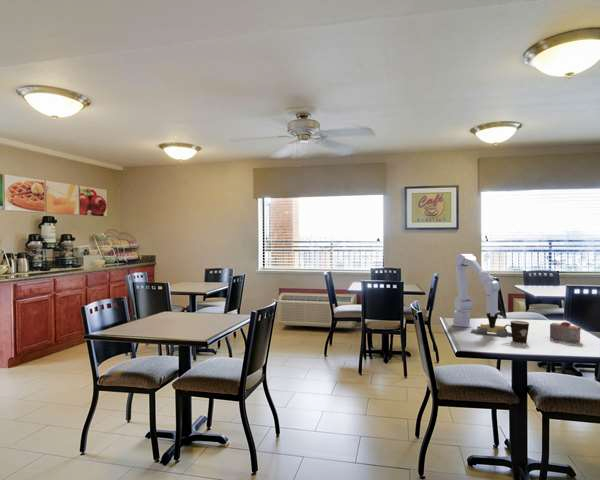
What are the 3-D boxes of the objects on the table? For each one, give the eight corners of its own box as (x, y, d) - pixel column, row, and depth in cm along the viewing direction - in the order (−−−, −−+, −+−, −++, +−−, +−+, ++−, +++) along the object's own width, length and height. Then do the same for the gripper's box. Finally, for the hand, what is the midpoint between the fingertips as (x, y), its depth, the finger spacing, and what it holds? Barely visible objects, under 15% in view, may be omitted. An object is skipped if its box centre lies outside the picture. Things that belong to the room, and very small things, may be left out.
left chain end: (471, 333, 226) (471, 327, 226) (471, 330, 232) (471, 325, 232) (487, 334, 223) (487, 329, 223) (486, 332, 229) (486, 327, 229)
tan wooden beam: (480, 331, 226) (480, 324, 226) (480, 330, 228) (480, 323, 228) (504, 333, 221) (504, 326, 221) (503, 332, 224) (504, 325, 224)
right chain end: (497, 335, 221) (497, 330, 221) (496, 333, 227) (496, 327, 227) (513, 337, 218) (513, 331, 218) (512, 334, 224) (512, 329, 224)
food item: (582, 342, 209) (582, 323, 209) (578, 344, 204) (578, 325, 204) (552, 337, 219) (553, 319, 219) (548, 339, 214) (548, 321, 214)
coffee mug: (528, 340, 211) (528, 321, 211) (529, 344, 203) (529, 324, 203) (503, 338, 216) (503, 319, 216) (504, 341, 208) (504, 322, 208)
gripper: (500, 305, 217) (500, 330, 217) (499, 301, 230) (499, 325, 230) (486, 304, 219) (486, 329, 219) (485, 300, 233) (485, 323, 233)
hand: (491, 326), depth 225 cm, fingers open, 4 cm apart
